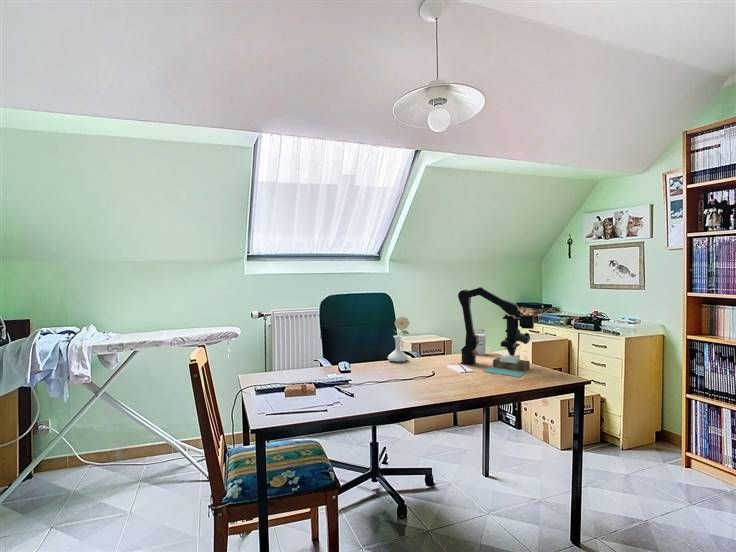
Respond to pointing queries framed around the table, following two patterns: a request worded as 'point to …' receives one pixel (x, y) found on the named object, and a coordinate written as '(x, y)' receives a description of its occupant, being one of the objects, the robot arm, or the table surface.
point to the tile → (510, 358)
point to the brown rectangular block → (512, 365)
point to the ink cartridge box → (480, 342)
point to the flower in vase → (397, 353)
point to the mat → (505, 371)
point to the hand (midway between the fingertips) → (512, 358)
